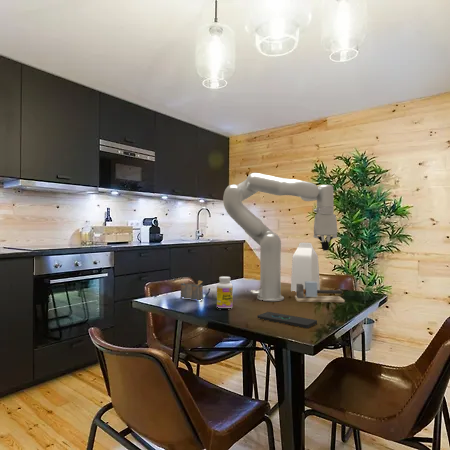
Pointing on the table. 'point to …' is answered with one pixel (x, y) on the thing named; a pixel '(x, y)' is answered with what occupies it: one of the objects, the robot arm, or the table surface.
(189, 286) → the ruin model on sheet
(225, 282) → the supplement bottle
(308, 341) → the table surface
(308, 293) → the sleeve
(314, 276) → the milk
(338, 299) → the board
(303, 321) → the dark grey flat block
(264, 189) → the robot arm
